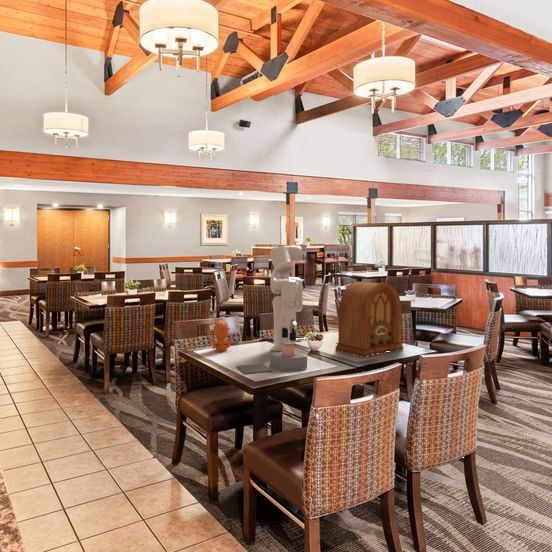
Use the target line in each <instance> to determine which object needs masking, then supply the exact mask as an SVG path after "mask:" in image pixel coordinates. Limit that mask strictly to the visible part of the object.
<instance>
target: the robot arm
mask: <svg viewBox="0 0 552 552" xmlns="http://www.w3.org/2000/svg"><path fill="white" fill-rule="evenodd" d="M269 253H270V260H271V263H272V265H273V270H272V272H271V274H270V282H269V283H270V290H271V292H272V293H273V294H276V295H277V296H275V297H273V299H272V309H273V334H274V340H273V346H271V347H270V348H271V350H272V351H275V352H283V345H282V343H283V342H290V341H295V340H296V335H297V327H298V324H297V313H299V312H301V311H302V310H303V301H304V300H303V299H304V298H303V282H302V279H301V278H300V277H296V276H290V273H291V272H293V270H294V262H295V263H297V262H301V261H302V260H303V257H304V251H303V248H302V246H300V245H282V246H281V245H280V246H275V247H272V248H271V249H270V252H269ZM278 294H280V295H278Z"/></svg>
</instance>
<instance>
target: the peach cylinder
mask: <svg viewBox="0 0 552 552" xmlns="http://www.w3.org/2000/svg"><path fill="white" fill-rule="evenodd" d="M282 345H283V356H285V357H287V356H294V351H295V345H296V342H283V343H282Z"/></svg>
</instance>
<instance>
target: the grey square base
mask: <svg viewBox="0 0 552 552" xmlns="http://www.w3.org/2000/svg"><path fill="white" fill-rule="evenodd" d="M270 366H272V367H273V368H277V370H278V371H279V372H287V370H289V371H296V370H295V369H299V370H303V369H302V368H307V369H308V356H306V355H304V354H302V353H300V352H299V351H297V350H294V356H287V357H285V356H283V352H281V351H276V352H270Z"/></svg>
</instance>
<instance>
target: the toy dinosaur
mask: <svg viewBox="0 0 552 552" xmlns="http://www.w3.org/2000/svg"><path fill="white" fill-rule="evenodd" d="M230 329H231V328H230V325H228V322H227V321H223V320H222V319H219V321H215V322H214V325H213V335H212V337H211V338H212V339H211V342H212V350H214V351H216V350H217V351H216V352H218V351H224V352H227V350H228V349H230V347H231V344H230V342H231V339H232V334H229V332H230ZM228 336H229V337H228ZM215 337H216V338H217V340H215ZM227 337H228V338H227ZM226 338H227V340H226Z"/></svg>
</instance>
